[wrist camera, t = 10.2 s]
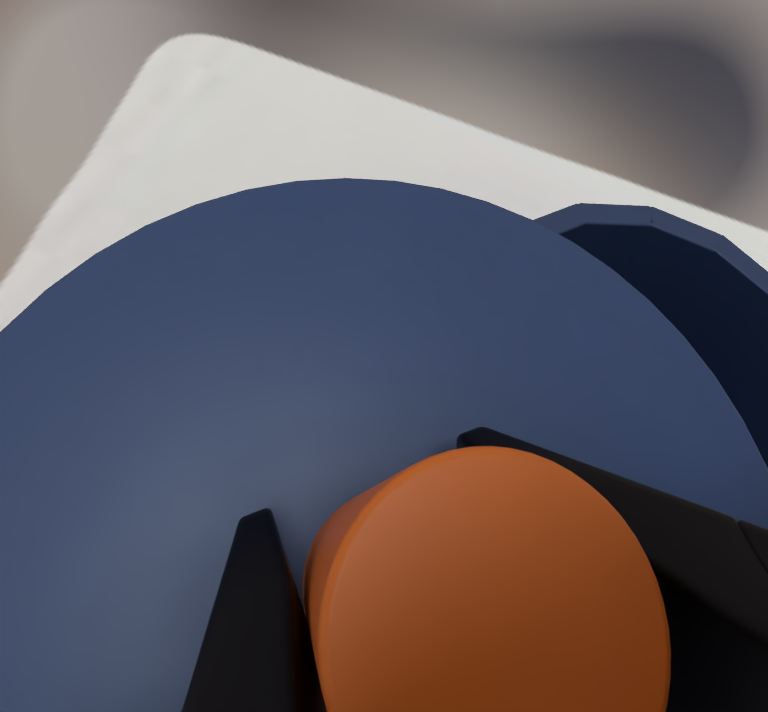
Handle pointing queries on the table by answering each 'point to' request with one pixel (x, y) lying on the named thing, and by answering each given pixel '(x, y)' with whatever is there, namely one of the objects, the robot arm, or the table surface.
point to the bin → (688, 291)
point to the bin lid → (350, 455)
